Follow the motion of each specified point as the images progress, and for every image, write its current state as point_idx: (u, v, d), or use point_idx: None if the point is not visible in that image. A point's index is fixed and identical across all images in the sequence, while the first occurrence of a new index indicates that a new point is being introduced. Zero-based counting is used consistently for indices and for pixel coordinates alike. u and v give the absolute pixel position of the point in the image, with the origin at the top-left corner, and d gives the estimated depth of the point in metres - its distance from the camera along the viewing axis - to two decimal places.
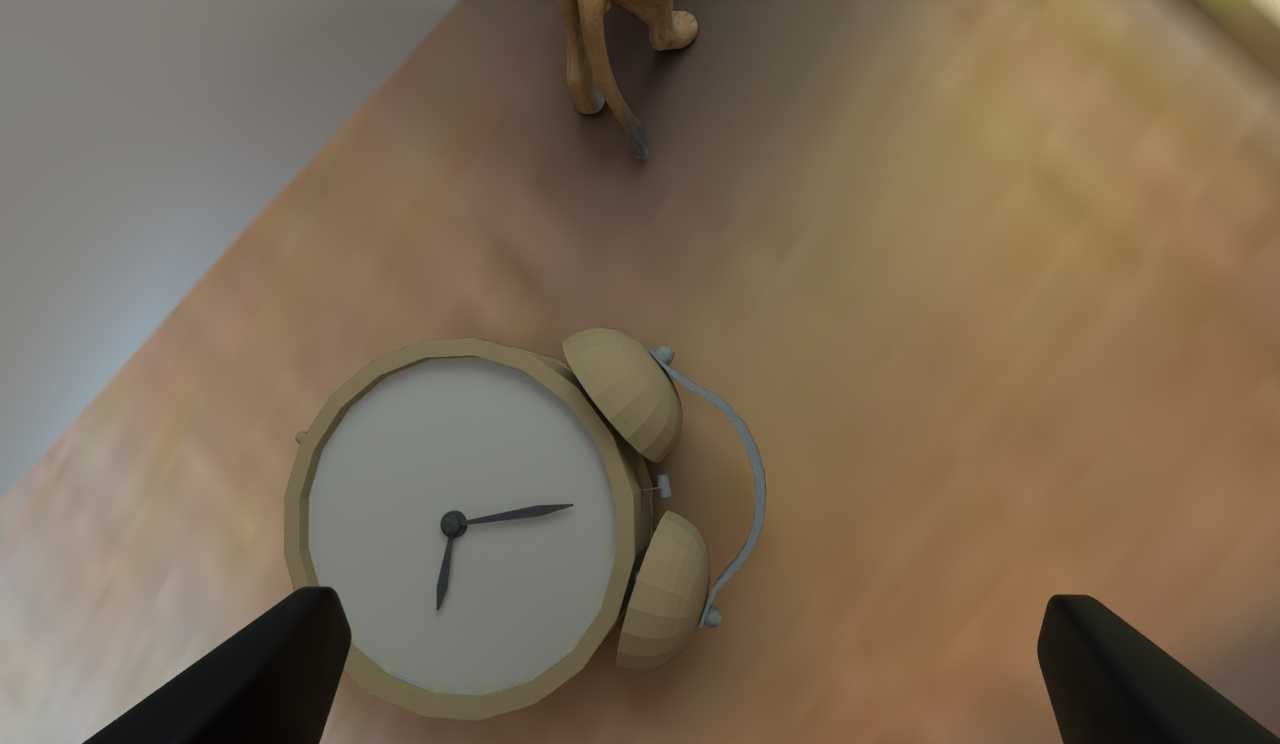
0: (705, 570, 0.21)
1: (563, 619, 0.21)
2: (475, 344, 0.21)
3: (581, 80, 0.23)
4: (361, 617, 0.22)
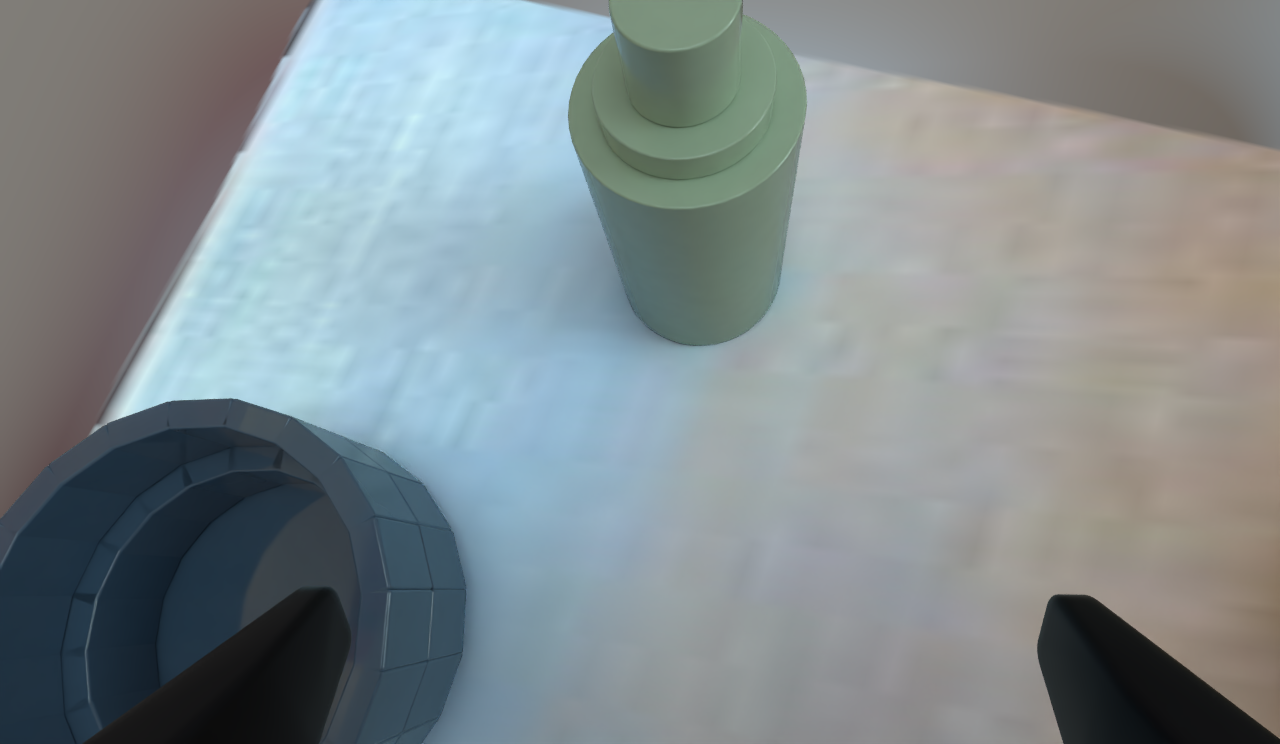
0: None
1: None
2: None
3: None
4: None
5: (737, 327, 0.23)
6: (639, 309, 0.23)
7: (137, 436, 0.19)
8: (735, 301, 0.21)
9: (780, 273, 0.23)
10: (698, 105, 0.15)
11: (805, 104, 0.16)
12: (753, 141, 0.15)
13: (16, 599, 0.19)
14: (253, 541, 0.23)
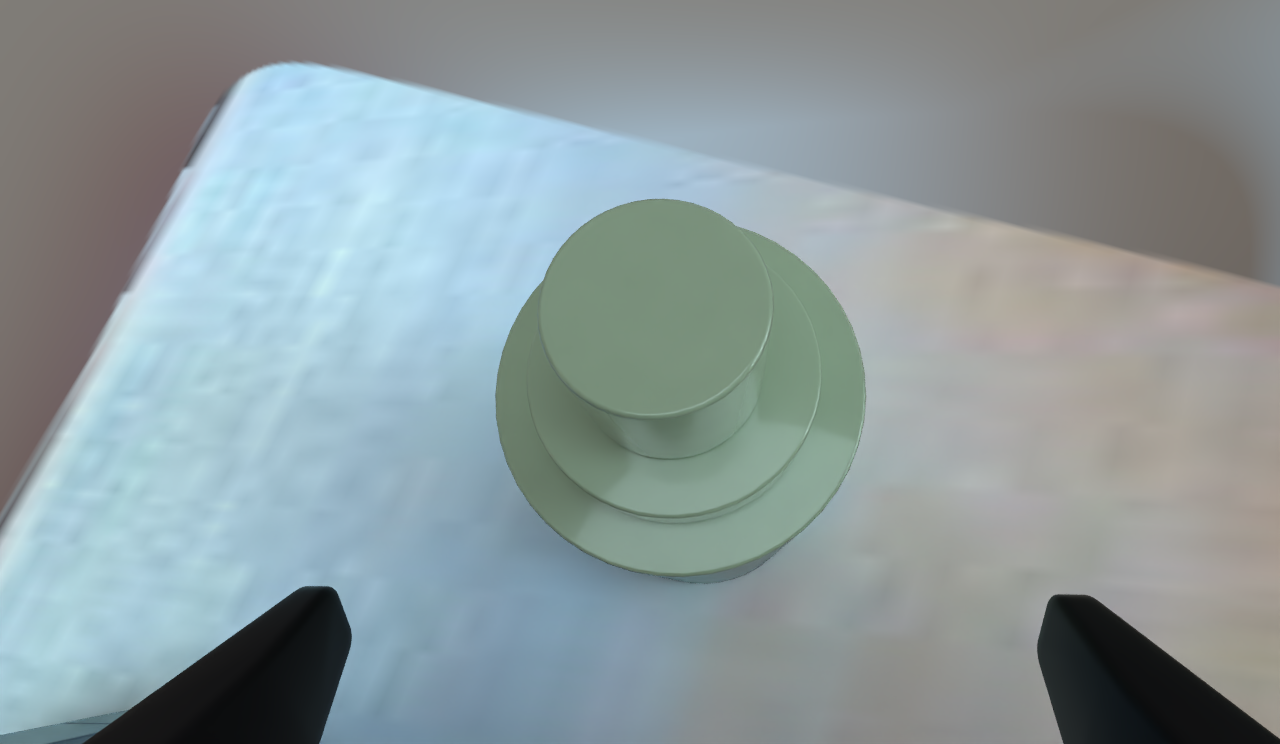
0: None
1: None
2: None
3: None
4: None
5: None
6: None
7: None
8: (747, 570, 0.15)
9: None
10: (695, 444, 0.09)
11: (864, 398, 0.10)
12: (784, 471, 0.10)
13: None
14: None
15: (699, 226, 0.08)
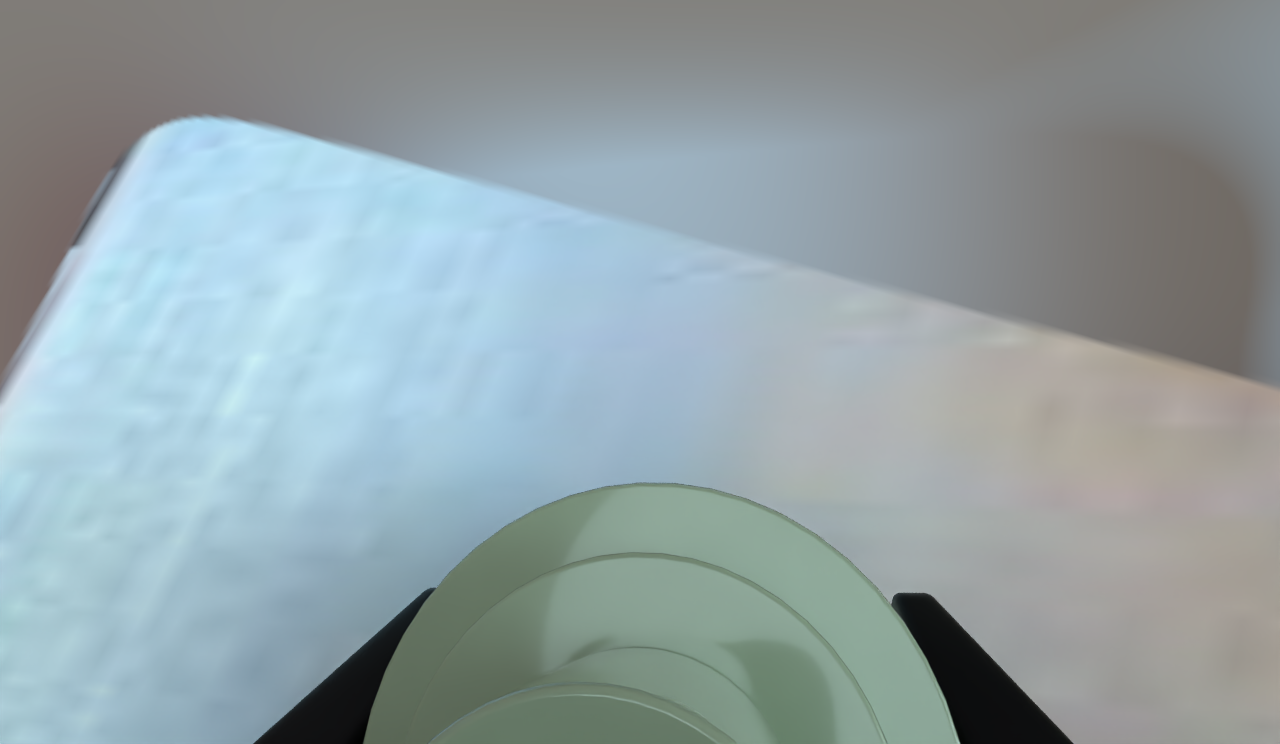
0: None
1: None
2: None
3: None
4: None
5: None
6: None
7: None
8: None
9: None
10: None
11: None
12: None
13: None
14: None
15: None
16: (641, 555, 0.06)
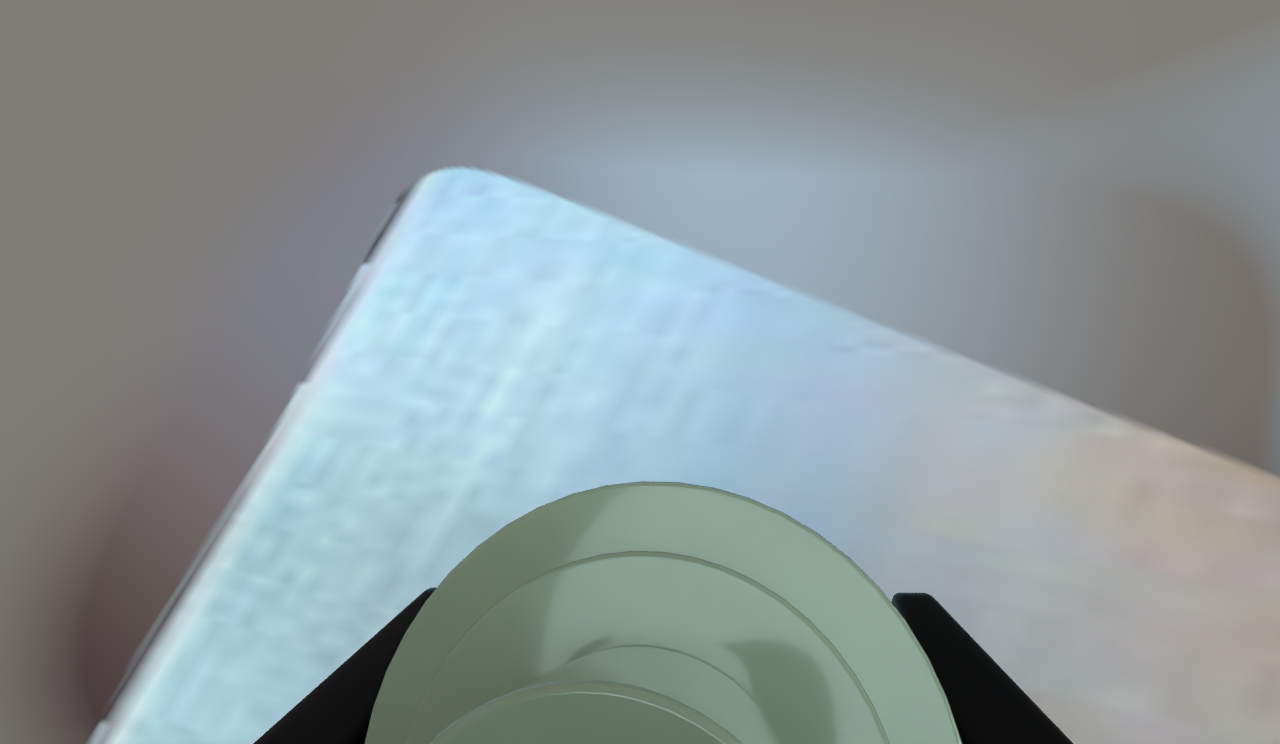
0: None
1: None
2: None
3: None
4: None
5: None
6: None
7: None
8: None
9: None
10: None
11: None
12: None
13: None
14: None
15: None
16: (643, 554, 0.06)
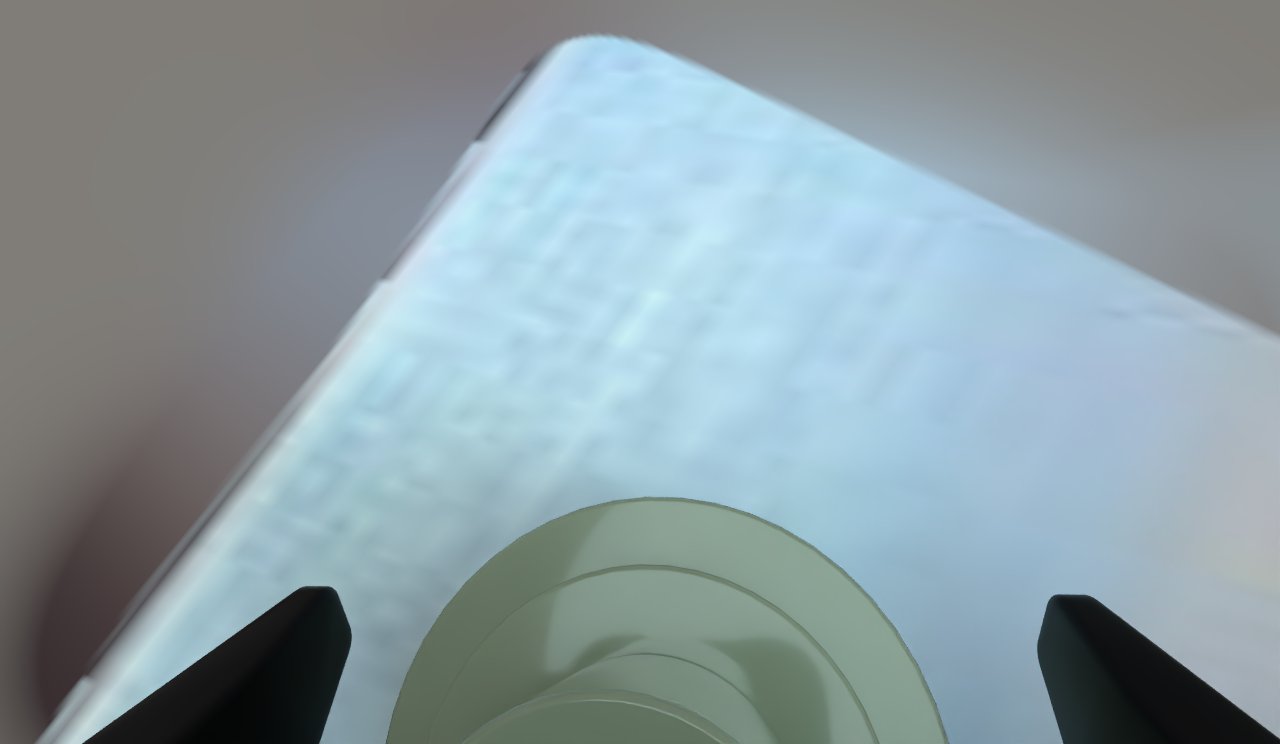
0: None
1: None
2: None
3: None
4: None
5: None
6: None
7: None
8: None
9: None
10: None
11: None
12: None
13: None
14: None
15: None
16: (649, 567, 0.06)
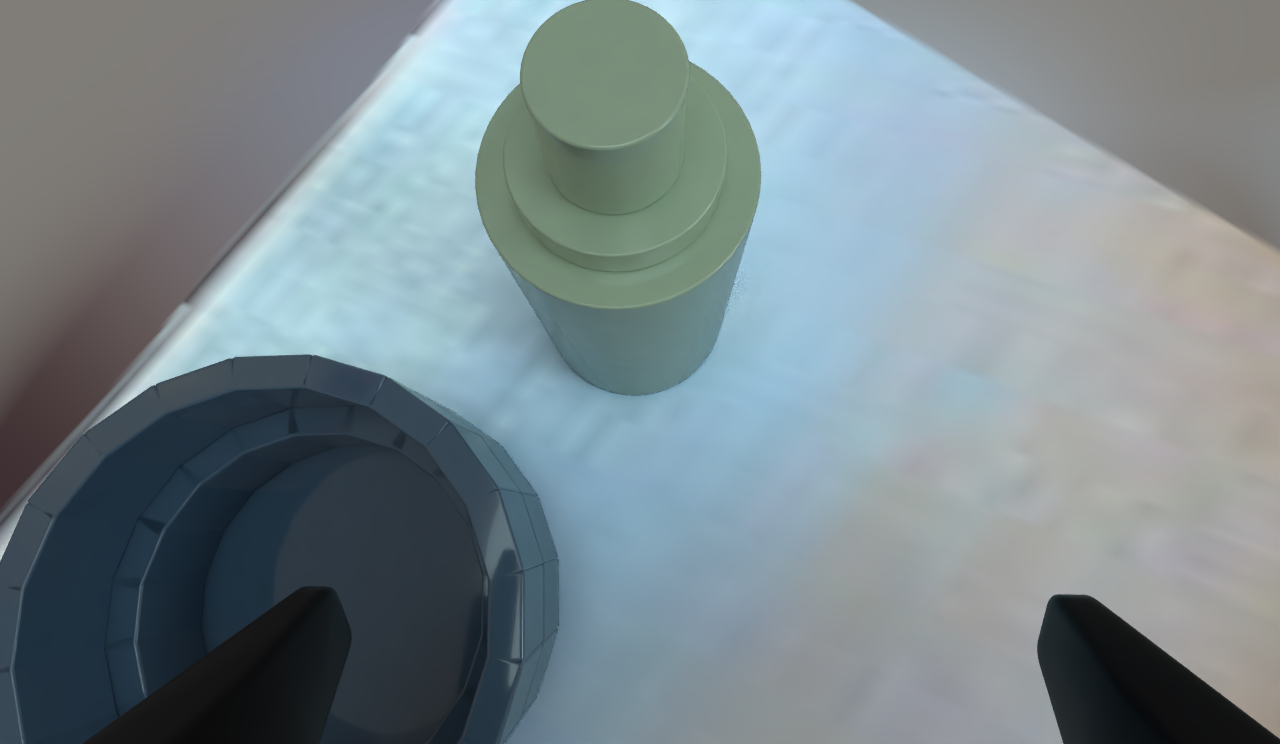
0: None
1: None
2: None
3: None
4: None
5: (669, 383, 0.21)
6: (562, 355, 0.21)
7: (265, 385, 0.16)
8: (666, 367, 0.19)
9: None
10: (628, 197, 0.12)
11: (758, 190, 0.13)
12: (693, 234, 0.13)
13: (85, 521, 0.17)
14: (336, 498, 0.21)
15: (641, 19, 0.11)
16: None
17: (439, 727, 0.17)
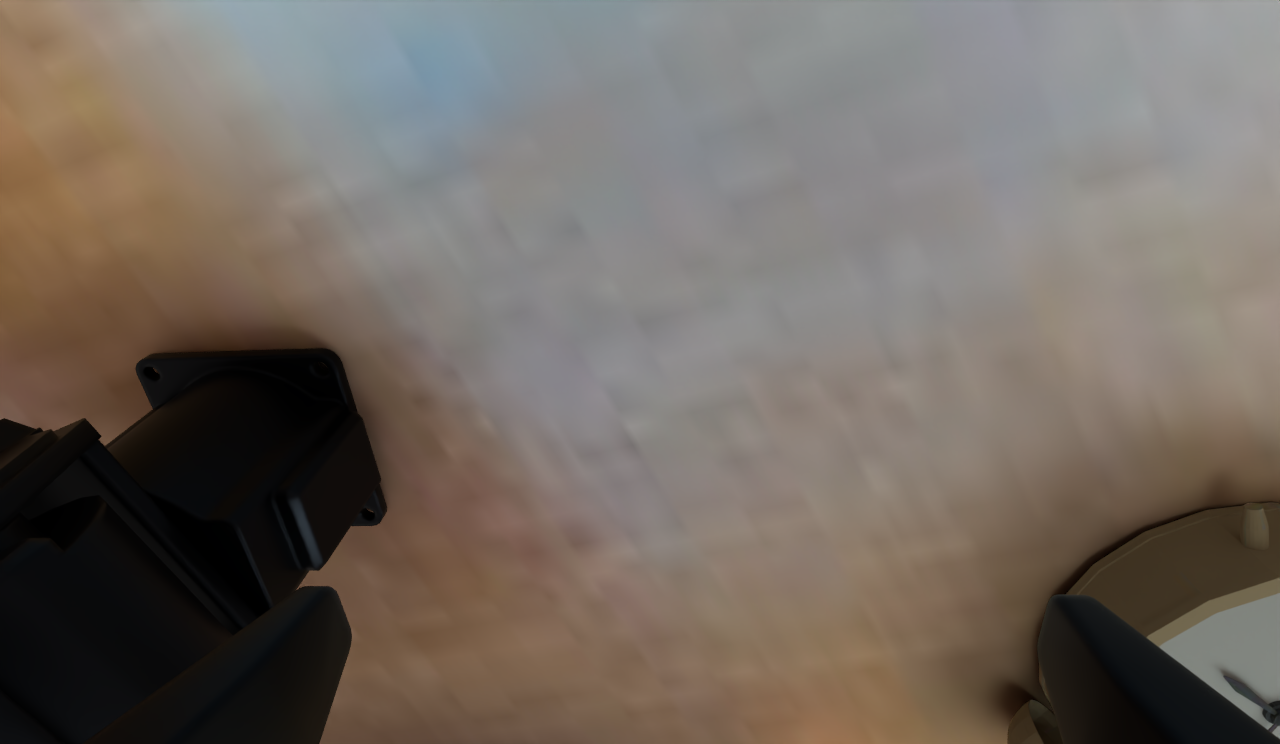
0: None
1: None
2: None
3: None
4: (1278, 601, 0.20)
5: None
6: None
7: None
8: None
9: None
10: None
11: None
12: None
13: None
14: None
15: None
16: None
17: None
